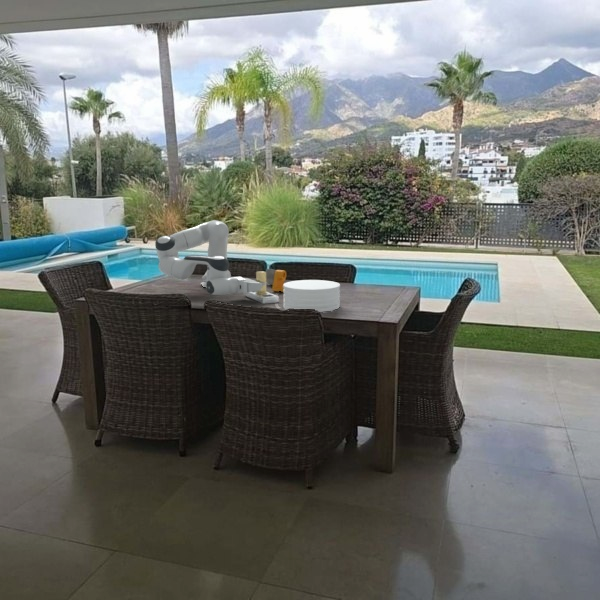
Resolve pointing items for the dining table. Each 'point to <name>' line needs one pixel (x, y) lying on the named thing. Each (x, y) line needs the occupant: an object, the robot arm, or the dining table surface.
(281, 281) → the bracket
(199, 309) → the dining table surface
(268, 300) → the white power strip
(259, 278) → the peg
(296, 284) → the plate stack
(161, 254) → the robot arm
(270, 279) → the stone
